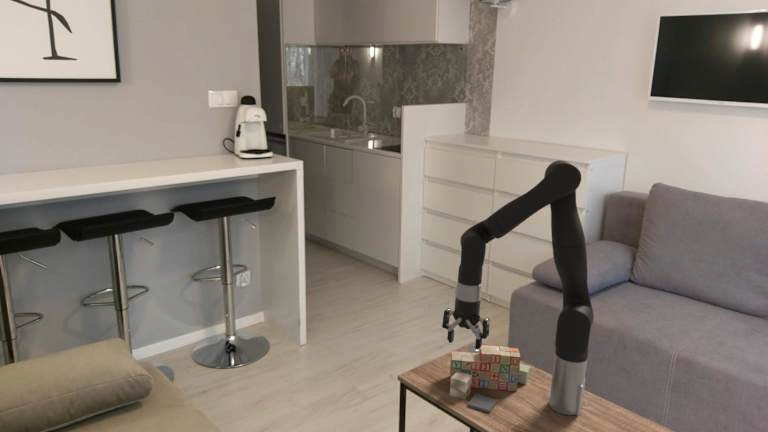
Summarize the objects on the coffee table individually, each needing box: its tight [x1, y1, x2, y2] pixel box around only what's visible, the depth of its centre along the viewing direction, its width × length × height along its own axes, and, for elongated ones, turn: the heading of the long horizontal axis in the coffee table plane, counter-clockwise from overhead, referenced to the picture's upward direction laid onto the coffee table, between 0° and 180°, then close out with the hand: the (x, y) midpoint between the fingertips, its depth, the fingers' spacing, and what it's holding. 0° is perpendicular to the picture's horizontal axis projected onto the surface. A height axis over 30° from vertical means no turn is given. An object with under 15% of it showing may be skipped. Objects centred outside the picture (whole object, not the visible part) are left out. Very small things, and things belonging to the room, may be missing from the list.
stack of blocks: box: [449, 344, 521, 392], centre depth 189 cm, size 21×6×12 cm, turn 85°
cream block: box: [449, 371, 472, 401], centre depth 183 cm, size 5×5×6 cm
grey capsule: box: [468, 345, 480, 353], centre depth 201 cm, size 4×4×6 cm
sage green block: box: [518, 363, 532, 386], centre depth 193 cm, size 4×4×4 cm
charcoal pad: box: [467, 393, 498, 414], centre depth 178 cm, size 7×7×1 cm
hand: (463, 345), depth 180 cm, fingers open, 8 cm apart
